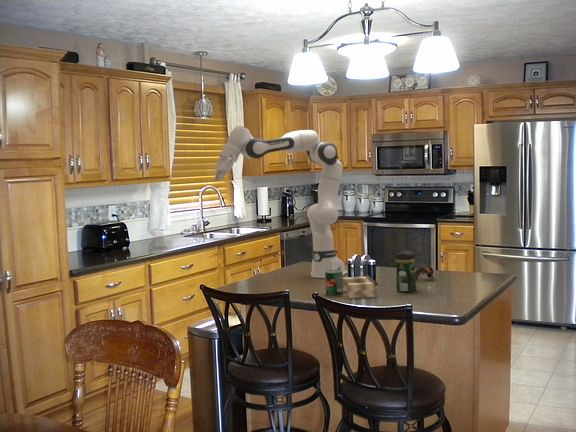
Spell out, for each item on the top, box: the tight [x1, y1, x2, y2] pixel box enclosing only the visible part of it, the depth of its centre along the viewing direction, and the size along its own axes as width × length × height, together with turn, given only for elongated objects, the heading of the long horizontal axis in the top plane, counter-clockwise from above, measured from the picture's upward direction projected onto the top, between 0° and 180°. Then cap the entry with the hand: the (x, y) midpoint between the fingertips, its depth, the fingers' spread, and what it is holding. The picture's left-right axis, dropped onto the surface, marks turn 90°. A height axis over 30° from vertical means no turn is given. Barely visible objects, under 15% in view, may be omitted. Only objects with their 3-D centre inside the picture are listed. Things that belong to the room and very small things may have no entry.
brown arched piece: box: [415, 265, 435, 282], centre depth 310 cm, size 12×10×8 cm
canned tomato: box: [324, 270, 344, 298], centre depth 283 cm, size 8×8×11 cm
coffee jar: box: [394, 250, 417, 293], centre depth 285 cm, size 10×8×19 cm
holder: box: [342, 274, 376, 299], centre depth 283 cm, size 12×19×7 cm, turn 3°
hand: (217, 180), depth 311 cm, fingers open, 8 cm apart
